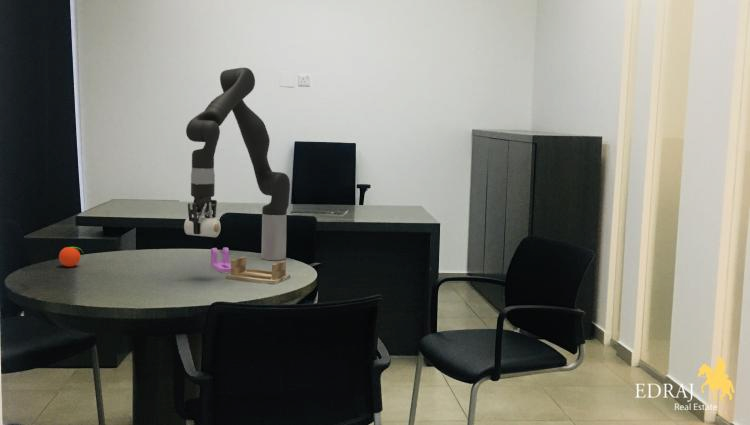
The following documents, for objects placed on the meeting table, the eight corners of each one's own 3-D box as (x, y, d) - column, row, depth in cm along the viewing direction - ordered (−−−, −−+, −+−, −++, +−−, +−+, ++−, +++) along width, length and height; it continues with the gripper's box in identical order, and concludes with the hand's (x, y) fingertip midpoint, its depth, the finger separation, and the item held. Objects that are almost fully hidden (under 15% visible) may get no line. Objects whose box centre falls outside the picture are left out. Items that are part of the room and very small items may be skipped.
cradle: (243, 272, 265) (243, 255, 264) (290, 277, 259) (290, 260, 258) (225, 278, 254) (225, 260, 253) (274, 284, 248) (274, 266, 247)
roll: (182, 235, 250) (182, 217, 249) (192, 233, 255) (192, 215, 254) (212, 238, 246) (212, 220, 245) (222, 236, 252) (222, 218, 251)
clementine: (84, 264, 269) (84, 244, 268) (83, 268, 262) (83, 247, 261) (59, 264, 266) (59, 244, 265) (58, 268, 260) (58, 248, 259)
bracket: (210, 266, 274) (210, 247, 273) (225, 265, 277) (226, 246, 276) (220, 273, 263) (221, 253, 262) (236, 272, 265) (236, 252, 265)
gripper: (204, 179, 256) (204, 229, 258) (180, 182, 243) (180, 234, 245) (224, 181, 254) (223, 231, 256) (200, 184, 240) (200, 236, 242)
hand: (202, 232), depth 250 cm, fingers closed on roll, 6 cm apart
